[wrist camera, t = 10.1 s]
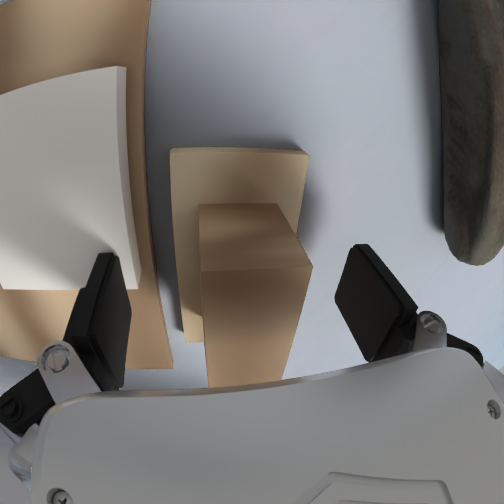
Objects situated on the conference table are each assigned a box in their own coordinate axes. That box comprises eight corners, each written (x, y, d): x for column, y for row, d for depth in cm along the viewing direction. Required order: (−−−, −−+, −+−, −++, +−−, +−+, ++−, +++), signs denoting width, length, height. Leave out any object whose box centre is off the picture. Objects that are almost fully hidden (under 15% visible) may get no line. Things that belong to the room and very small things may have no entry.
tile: (142, 267, 12) (127, 67, 7) (138, 289, 11) (116, 65, 6) (14, 270, 10) (-24, 107, 6) (3, 289, 9) (-44, 114, 5)
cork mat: (156, -34, 5) (154, -39, 5) (172, 360, 17) (172, 368, 16) (-91, 75, 3) (-98, 77, 2) (-9, 348, 14) (-11, 354, 13)
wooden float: (300, 148, 11) (362, 200, 7) (271, 323, 17) (294, 397, 12) (171, 146, 10) (154, 200, 6) (185, 328, 16) (188, 408, 12)
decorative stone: (413, -50, 5) (473, -63, 2) (487, -13, 6) (539, -8, 2) (417, 246, 15) (459, 291, 12) (479, 227, 16) (516, 261, 12)
